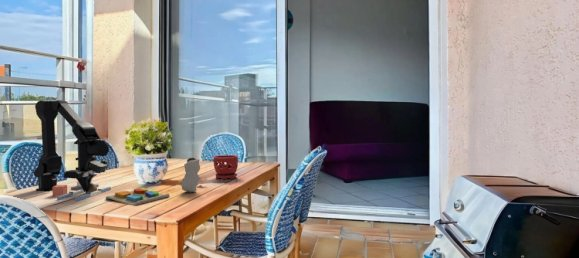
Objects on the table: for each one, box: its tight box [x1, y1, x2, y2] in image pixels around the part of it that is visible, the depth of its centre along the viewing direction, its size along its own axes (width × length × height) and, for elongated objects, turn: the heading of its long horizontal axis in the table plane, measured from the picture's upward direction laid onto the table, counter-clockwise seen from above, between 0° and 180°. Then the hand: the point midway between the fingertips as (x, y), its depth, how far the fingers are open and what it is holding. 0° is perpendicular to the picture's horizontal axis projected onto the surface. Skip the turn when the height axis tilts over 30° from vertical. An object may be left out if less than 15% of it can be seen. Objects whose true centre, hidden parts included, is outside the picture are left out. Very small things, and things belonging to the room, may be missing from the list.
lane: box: [56, 186, 112, 202], centre depth 159 cm, size 10×21×2 cm, turn 172°
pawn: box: [85, 183, 98, 194], centre depth 163 cm, size 4×4×4 cm
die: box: [51, 184, 68, 197], centre depth 158 cm, size 4×4×4 cm
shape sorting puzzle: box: [105, 187, 171, 206], centre depth 154 cm, size 18×19×4 cm
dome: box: [76, 180, 94, 187], centre depth 172 cm, size 6×6×2 cm
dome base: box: [70, 183, 100, 191], centre depth 173 cm, size 8×8×1 cm
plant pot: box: [213, 154, 239, 180], centre depth 203 cm, size 13×13×12 cm
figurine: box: [180, 157, 201, 193], centre depth 167 cm, size 9×10×15 cm
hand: (86, 191), depth 160 cm, fingers closed
